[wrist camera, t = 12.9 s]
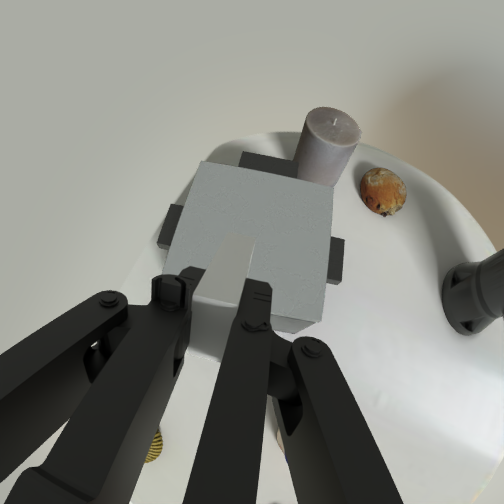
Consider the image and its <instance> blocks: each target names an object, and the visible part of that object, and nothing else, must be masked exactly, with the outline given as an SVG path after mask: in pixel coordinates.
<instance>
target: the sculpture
mask: <svg viewBox="0 0 504 504" xmlns="http://www.w3.org/2000/svg"><path fill="white" fill-rule="evenodd" d="M157 431H158V429H157ZM157 431H156V434H155V436H154V439H153V441H152V444H151V447H150V449H149V452H148V454H147V457H146V460H145V462H144V463H148V462H151V461H153V460H155V459H156V458H157V457H158V456H159V454H160V453H161V451H162V447H163V440H162V436H161V435H160V434H161V433H160V432H157ZM155 437H158V438H155ZM158 440H159V441H158ZM153 454H154V455H153ZM150 456H151V457H150Z"/></svg>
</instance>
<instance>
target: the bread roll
mask: <svg viewBox="0 0 504 504" xmlns="http://www.w3.org/2000/svg"><path fill="white" fill-rule="evenodd" d="M361 196H362V199H363V201H364V203H365V204H366V206H367V207H368V208H369V209H370V210H372V211H373V212H375V213H377V214H380V215H383V217H386V216H387V215H394V214H395V212H397V211H398V210H400V209H401V208H402V205H403V204H404V202H405V198H406V187H405V184H404V183H403V181H402V180H401V179H400V178H399V177H398V176H397V175H396V174H395V173H393V172H391V171H389V170H387V169H385V168H374V169H371V170H370V171H368V172H367V173H366V174H365V175H364V176H363V178H362V181H361Z"/></svg>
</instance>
